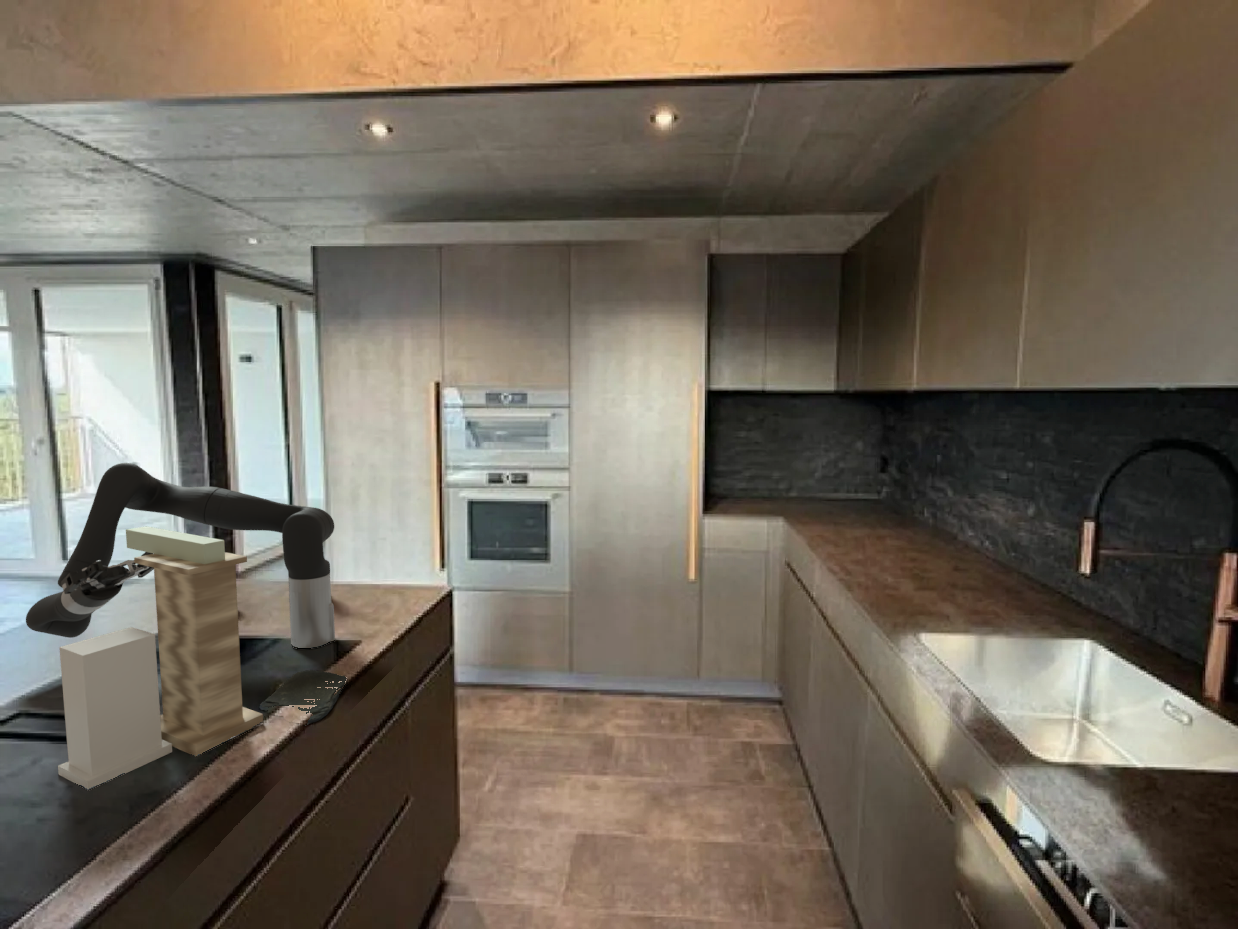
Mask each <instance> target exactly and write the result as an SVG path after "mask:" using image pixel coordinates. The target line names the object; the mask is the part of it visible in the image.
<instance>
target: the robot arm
mask: <svg viewBox="0 0 1238 929" xmlns="http://www.w3.org/2000/svg"><path fill="white" fill-rule="evenodd" d="M125 509H128V510H134V511H141V512H151V513H157V514H158V513H159V514H165V515H166V514H167V515H171V516H175V517H179V518H182V519H185V520H189V521H193V522H196V523H200V524H202V525H207V526H211V527H215V528H220V529H225V530H231V531H232V530H233V531H265V532H266V531H269V532H270V531H271V532H276V533H279V534H282V535H281V537H282V538H281V539H282V551H283V561H284V564H285V565H284V566H285V568H286V569H287V574H288V576H287V577H288V597H289V601H288V602H289V622H290V623H289V625H290V645H291V644H292V645H293V646H295V647H298V648H311V647H317V646H320V645H323V644H326V643H328V642H329V641H331V640H335V641H336V638H335V637H336V636H335V634H336V633H335V631H336V630H335V606H334V603H333V602H332V588H331V587H332V586H331V584H332V582H331V564H330V561H329V560H327V559H325V555H324V554H325V553H324V542H325V541H326V540H328V539H329V538H330V537H331V536H332V534H333V533H334V531H335V522H334V519H333V517H332V516H331V515H330V514H329V513H328V512H327V511H326V510H323V509H321V508H318V507H312V506H304V505H303V506H301V505H297V504H288V503H282V502H277V501H273V500H270V499H267V498H263V497H259V496H255V495H251V494H247V493H243V492H239V491H236V490H232V489H226V488H222V487H218V486H205V485H204V486H196V487H194V486H192V487H190V486H189V487H188V486H183V485H182V486H181V485H176V484H174V483H170V482H166V481H163V480H161V479H158V478H156V477H154V476H153V475H151V474H150V473H148V472H147V471H146V470H145V469H143V468H141V467H140V466H138V465H137V464H135V463H132V462H120V463H117V464H114V465H112V466H111V467H110V468H108V469H106V471H105V472H104V473H103V475H102V477H101V479H100V482H99V484H98V486H97V490H96V492H95V496H94V499H93V502H92V505H91V507H90V509H89V514H88V517H87V519H86V522H85V525H84V527H83V531H82V533H81V536H80V538H79V539H78V542H77V544H76V546H75V548H74V550H73V552H72V554H71V555H70V557H69V559H68V561H67V563H66V565H65V566H64V569H63V570H62V572H61V573H60V576H59V578H58V580H57V585H58V587H60V588H62V591H60V592H56V593H54V594H50V595H48V596H45V597H42V598H41V599H39V600H38V601H37V602H35V603H34V604H33V605H32V606H31V607H30V609H29V610H28V611H27V613H26V617H25V623H26V626H27V627H28V629H30V630H31V631H34V632H38V633H43V634H49V635H53V636H59V637H65V638H70V639H71V638H72V639H73V638H77V637H78V636H80V635H82V634H83V633H85V631H86V630H87V629H88V627H89V626H90V623H91V619H92V616H93V614H94V612H96V611H97V610H99V609H101V608H102V607H104V605H107V603H109V602H110V601H111V600H112V599H113V598H115V597H116V596H117V595H118V594H119V593H120V591H121V589H122V588H123V584H124V583H125V582H126V581H128V580H130V579H133V578H135V577H138V578H139V579H141V578H144V577H145V576H147V575H148V574H150V573H151V572H152V571H154V567H149V566H145V565H141V564H136V563H134V559H133V560H132V559H127V560H125V561H122V562H120V563H117V564H112V565H110V563H111V561H112V557H113V554H114V549H115V544H116V534H117V528H118V524H119V522H120V519H121V517H122V514H123V513H124V510H125ZM150 554H154V553H149V552H144V553H142V554H141V555H140V556H145V555H150ZM109 565H110V566H109ZM126 566H127V567H128V568H126ZM328 644H329V643H328ZM326 645H327V644H326ZM317 648H318V647H317ZM311 649H312V648H311Z"/></svg>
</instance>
